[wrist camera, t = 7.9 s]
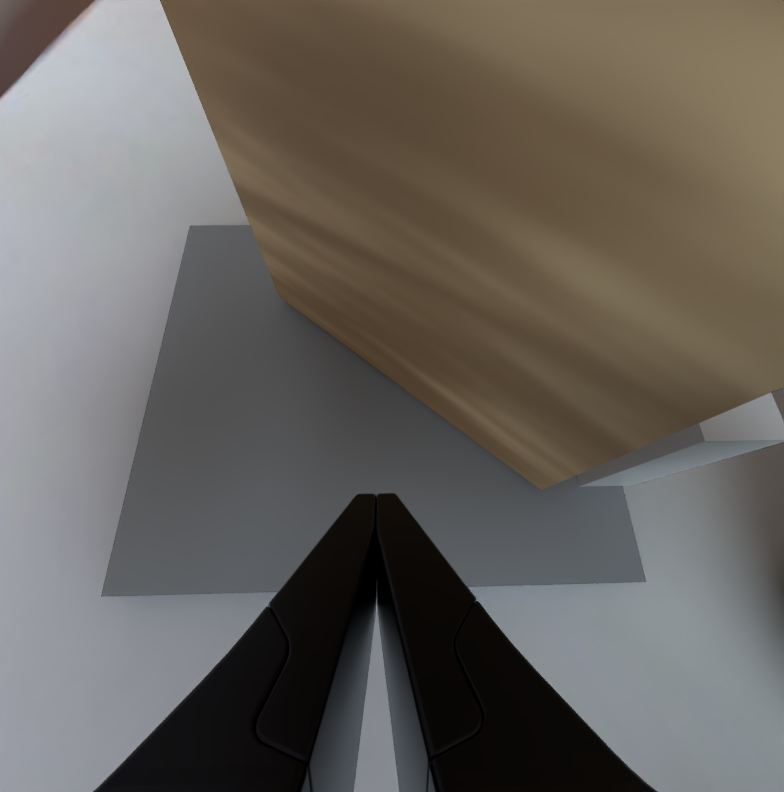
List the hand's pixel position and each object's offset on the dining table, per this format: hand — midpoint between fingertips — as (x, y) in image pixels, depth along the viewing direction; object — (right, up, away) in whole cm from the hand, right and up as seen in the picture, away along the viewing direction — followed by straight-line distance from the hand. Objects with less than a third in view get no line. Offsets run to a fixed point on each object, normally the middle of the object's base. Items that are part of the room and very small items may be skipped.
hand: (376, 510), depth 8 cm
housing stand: (0, +3, +8) cm, 9 cm away
